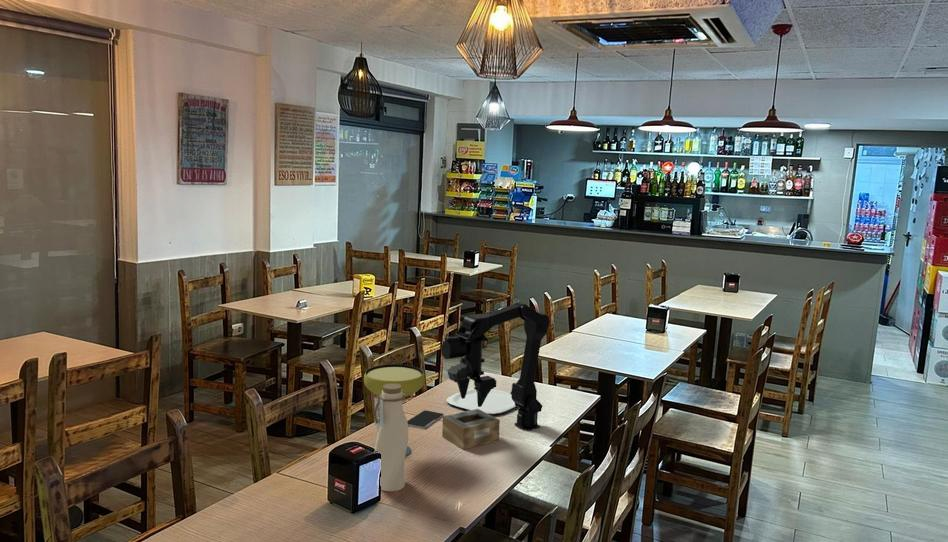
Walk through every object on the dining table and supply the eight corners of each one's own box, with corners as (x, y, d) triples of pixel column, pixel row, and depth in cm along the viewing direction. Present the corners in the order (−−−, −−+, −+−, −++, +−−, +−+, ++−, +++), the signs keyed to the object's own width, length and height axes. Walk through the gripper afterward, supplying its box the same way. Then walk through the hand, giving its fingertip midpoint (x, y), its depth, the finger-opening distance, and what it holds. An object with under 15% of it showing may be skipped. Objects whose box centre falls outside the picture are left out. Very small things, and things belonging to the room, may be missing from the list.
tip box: (477, 428, 227) (477, 408, 226) (499, 440, 217) (499, 419, 216) (442, 436, 219) (442, 416, 218) (463, 449, 209) (463, 428, 208)
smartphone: (444, 413, 239) (424, 427, 225) (444, 417, 239) (424, 430, 225) (424, 409, 242) (403, 422, 228) (424, 413, 242) (403, 426, 228)
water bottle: (390, 498, 177) (391, 395, 173) (364, 488, 182) (365, 388, 178) (414, 483, 186) (415, 385, 182) (388, 475, 190) (389, 379, 186)
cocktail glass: (416, 437, 218) (418, 362, 214) (428, 460, 201) (430, 379, 197) (360, 442, 213) (360, 365, 209) (367, 466, 196) (368, 383, 192)
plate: (438, 405, 251) (438, 400, 250) (477, 388, 271) (477, 384, 271) (495, 420, 236) (495, 416, 236) (531, 402, 257) (531, 397, 257)
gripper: (435, 351, 217) (434, 398, 219) (468, 365, 202) (467, 415, 204) (464, 347, 224) (462, 392, 226) (498, 361, 209) (496, 409, 211)
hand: (471, 402), depth 217 cm, fingers open, 9 cm apart
